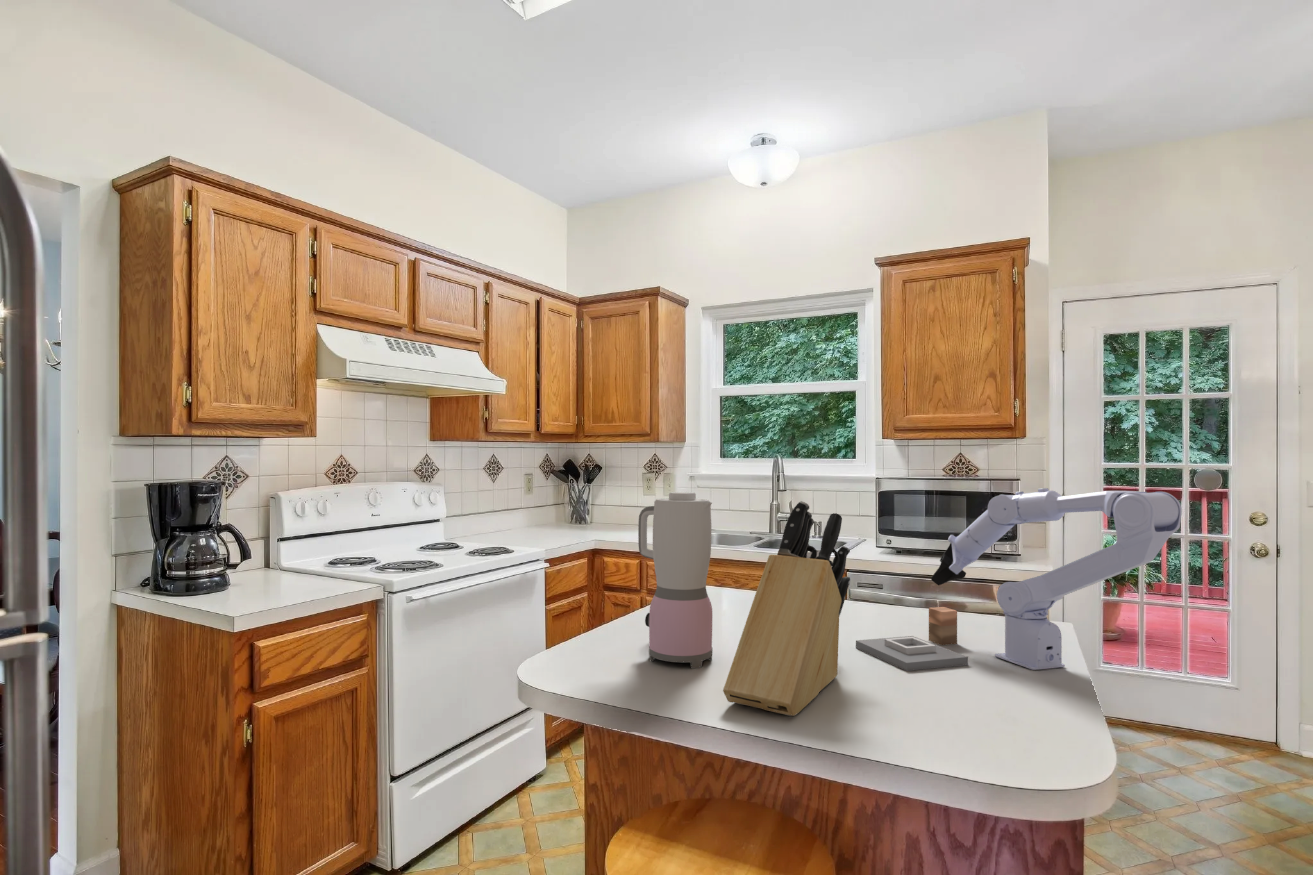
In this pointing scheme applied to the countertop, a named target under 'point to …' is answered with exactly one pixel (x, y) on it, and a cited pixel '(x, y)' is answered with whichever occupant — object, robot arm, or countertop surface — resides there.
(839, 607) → the knife block
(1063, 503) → the robot arm
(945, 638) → the copper rectangular block
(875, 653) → the collar board
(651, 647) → the blender
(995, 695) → the countertop surface
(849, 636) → the countertop surface
